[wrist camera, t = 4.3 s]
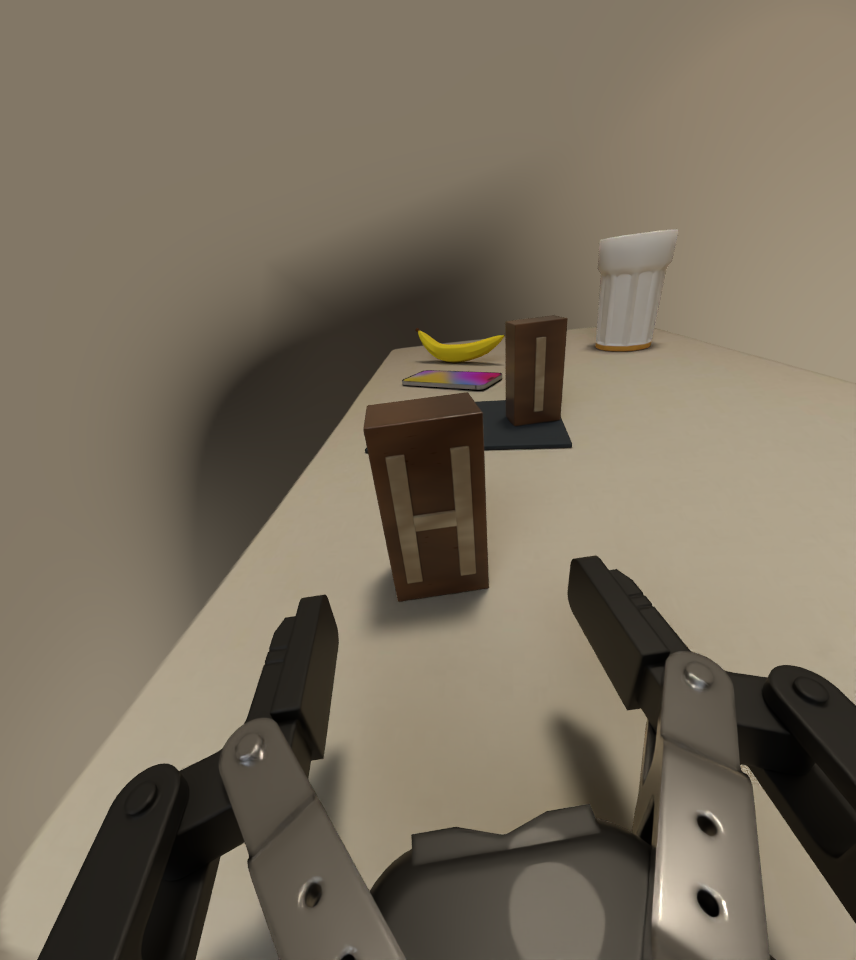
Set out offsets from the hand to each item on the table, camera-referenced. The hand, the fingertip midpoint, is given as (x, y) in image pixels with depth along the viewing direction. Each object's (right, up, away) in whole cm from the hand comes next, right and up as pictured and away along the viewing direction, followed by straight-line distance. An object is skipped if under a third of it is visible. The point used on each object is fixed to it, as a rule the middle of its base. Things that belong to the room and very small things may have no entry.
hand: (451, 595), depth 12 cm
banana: (+5, +26, +59) cm, 65 cm away
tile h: (0, -2, +9) cm, 10 cm away
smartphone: (+3, +19, +47) cm, 51 cm away
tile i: (+11, +11, +28) cm, 32 cm away
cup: (+35, +28, +57) cm, 73 cm away
